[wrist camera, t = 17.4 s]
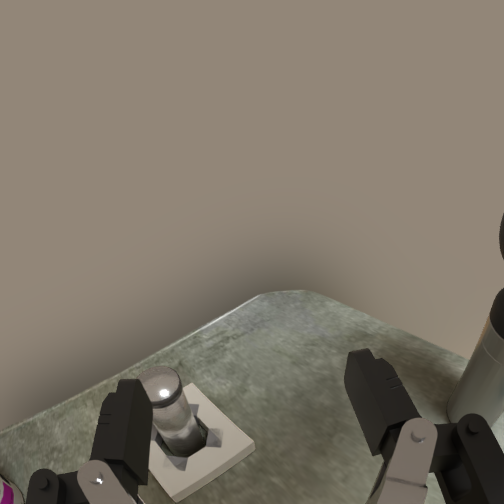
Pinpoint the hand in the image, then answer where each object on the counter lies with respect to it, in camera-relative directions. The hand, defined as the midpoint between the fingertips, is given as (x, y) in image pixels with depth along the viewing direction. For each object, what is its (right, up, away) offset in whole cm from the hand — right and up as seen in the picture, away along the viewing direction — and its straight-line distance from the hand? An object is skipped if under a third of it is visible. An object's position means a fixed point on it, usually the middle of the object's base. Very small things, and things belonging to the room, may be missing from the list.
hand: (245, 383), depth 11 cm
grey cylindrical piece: (-9, -21, +26) cm, 35 cm away
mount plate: (-9, -21, +26) cm, 35 cm away
